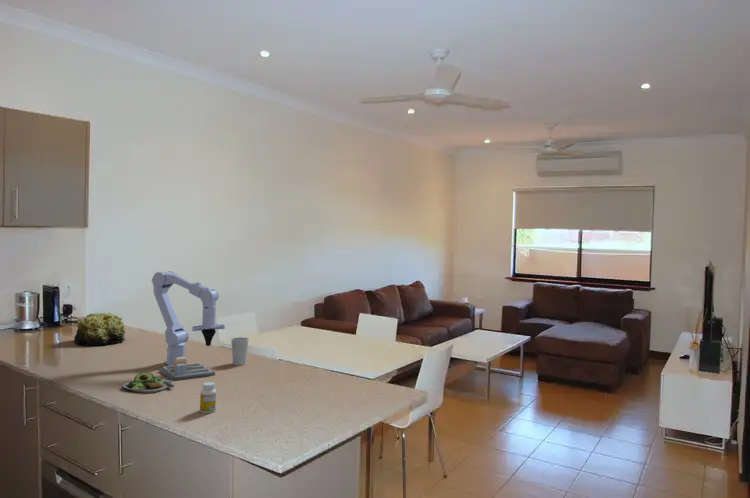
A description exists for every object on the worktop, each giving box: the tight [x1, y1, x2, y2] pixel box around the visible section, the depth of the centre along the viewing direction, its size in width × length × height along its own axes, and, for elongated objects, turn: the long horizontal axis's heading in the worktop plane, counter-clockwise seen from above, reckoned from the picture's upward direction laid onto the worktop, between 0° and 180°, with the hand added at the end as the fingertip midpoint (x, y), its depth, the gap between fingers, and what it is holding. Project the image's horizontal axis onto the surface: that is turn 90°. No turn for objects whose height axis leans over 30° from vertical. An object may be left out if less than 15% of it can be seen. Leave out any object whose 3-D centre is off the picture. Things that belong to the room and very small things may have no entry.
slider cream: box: [175, 356, 188, 365], centre depth 249 cm, size 3×4×5 cm
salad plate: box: [121, 371, 175, 394], centre depth 223 cm, size 19×18×5 cm
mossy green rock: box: [73, 312, 126, 347], centre depth 301 cm, size 25×24×16 cm
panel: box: [158, 362, 216, 382], centre depth 246 cm, size 18×19×2 cm
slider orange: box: [174, 360, 186, 372], centre depth 243 cm, size 3×4×5 cm
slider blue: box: [175, 364, 187, 375], centre depth 238 cm, size 3×4×5 cm
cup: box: [231, 336, 250, 366], centre depth 267 cm, size 8×8×12 cm
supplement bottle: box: [199, 381, 217, 414], centre depth 197 cm, size 5×5×10 cm
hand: (208, 345), depth 256 cm, fingers closed
